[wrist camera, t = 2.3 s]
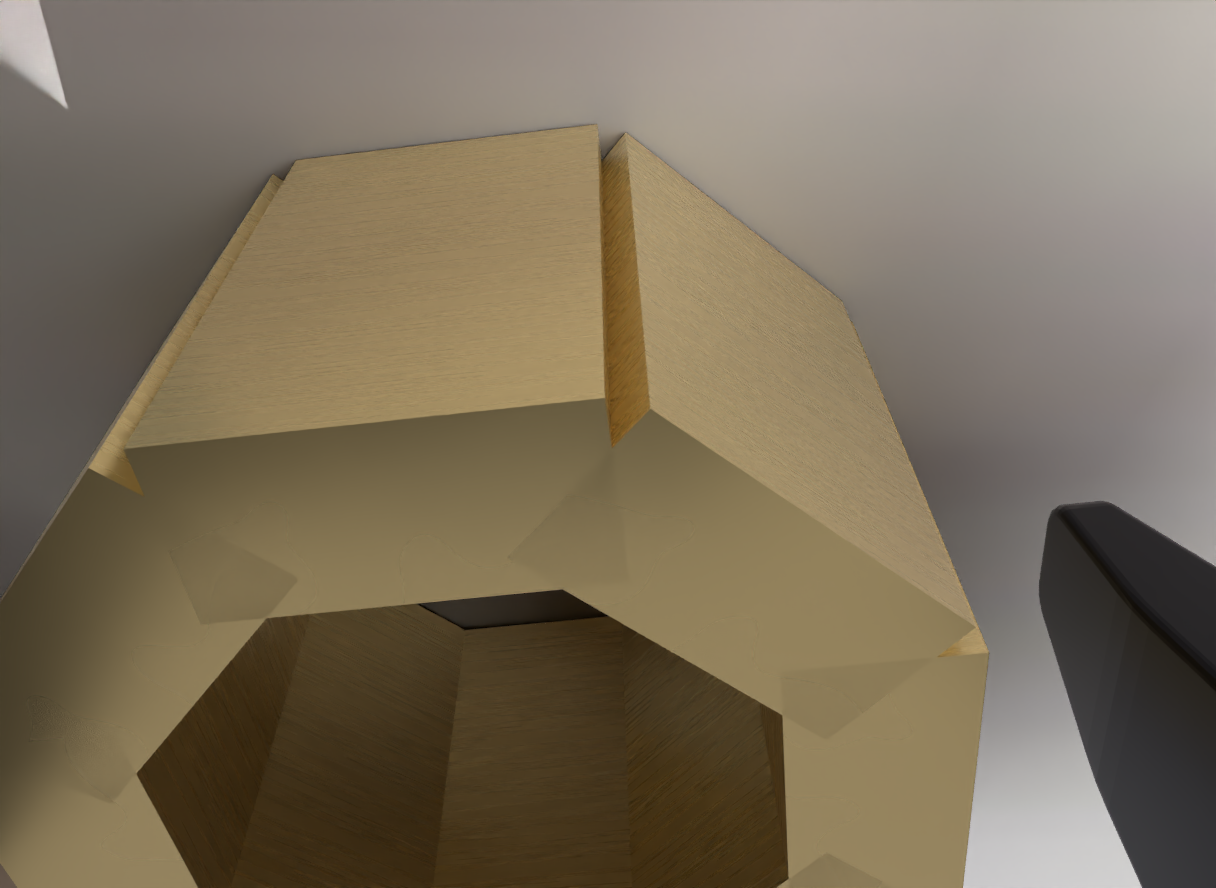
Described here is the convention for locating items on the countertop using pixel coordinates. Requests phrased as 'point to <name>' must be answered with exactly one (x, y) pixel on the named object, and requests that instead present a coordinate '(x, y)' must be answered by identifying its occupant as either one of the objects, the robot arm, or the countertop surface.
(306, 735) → the tan hollow octagonal ring
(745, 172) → the countertop surface
